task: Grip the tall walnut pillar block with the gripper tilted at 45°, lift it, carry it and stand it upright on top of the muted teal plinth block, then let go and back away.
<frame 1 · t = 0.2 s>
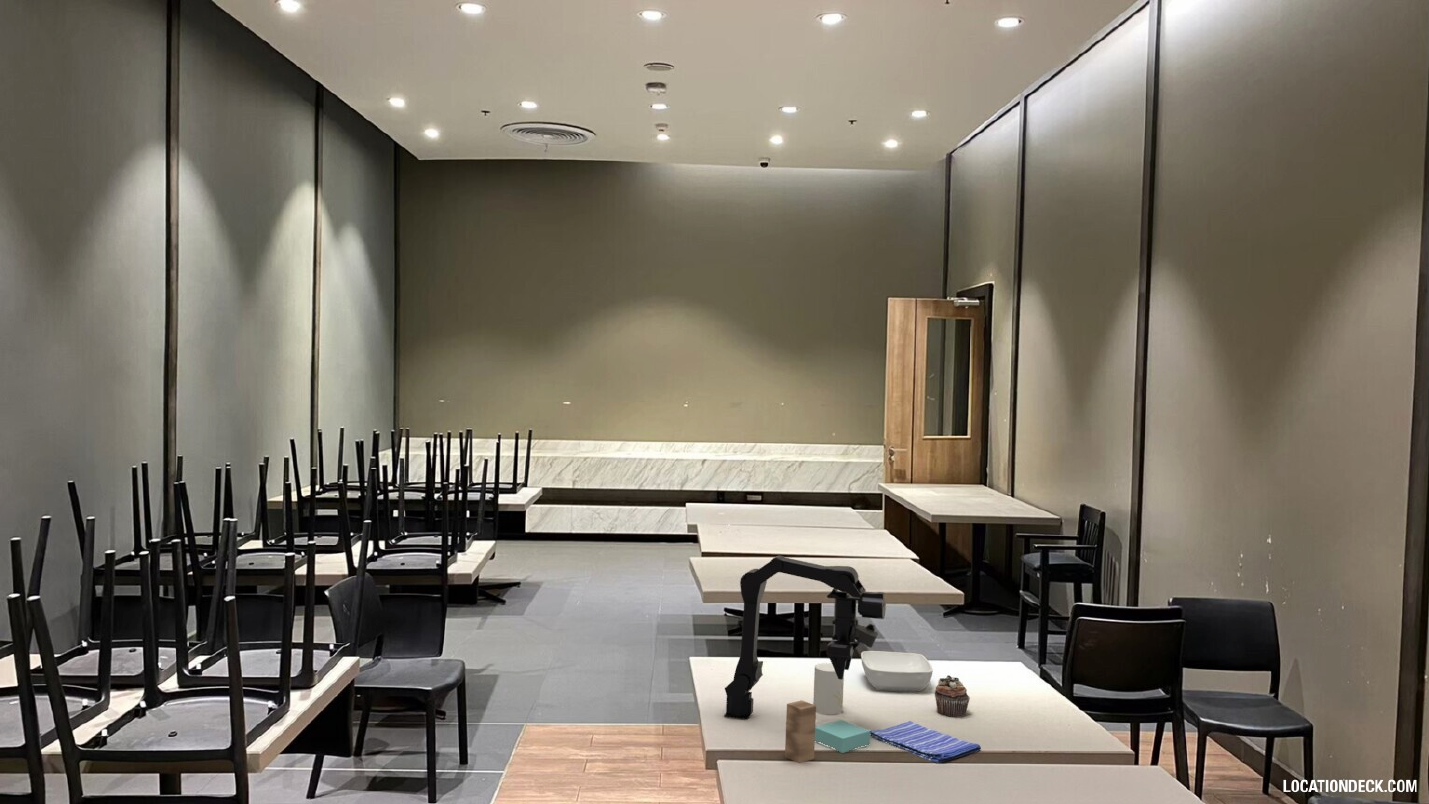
hand: (843, 674, 277), 15 cm above the table, tool pointing down, fingers open, 9 cm apart
cupcake: (951, 713, 295), on the table
teal plinth: (841, 744, 267), on the table
cup: (827, 710, 293), on the table
dish towel: (924, 746, 269), on the table
square bowl: (895, 685, 320), on the table
walnut pillar: (799, 757, 256), on the table
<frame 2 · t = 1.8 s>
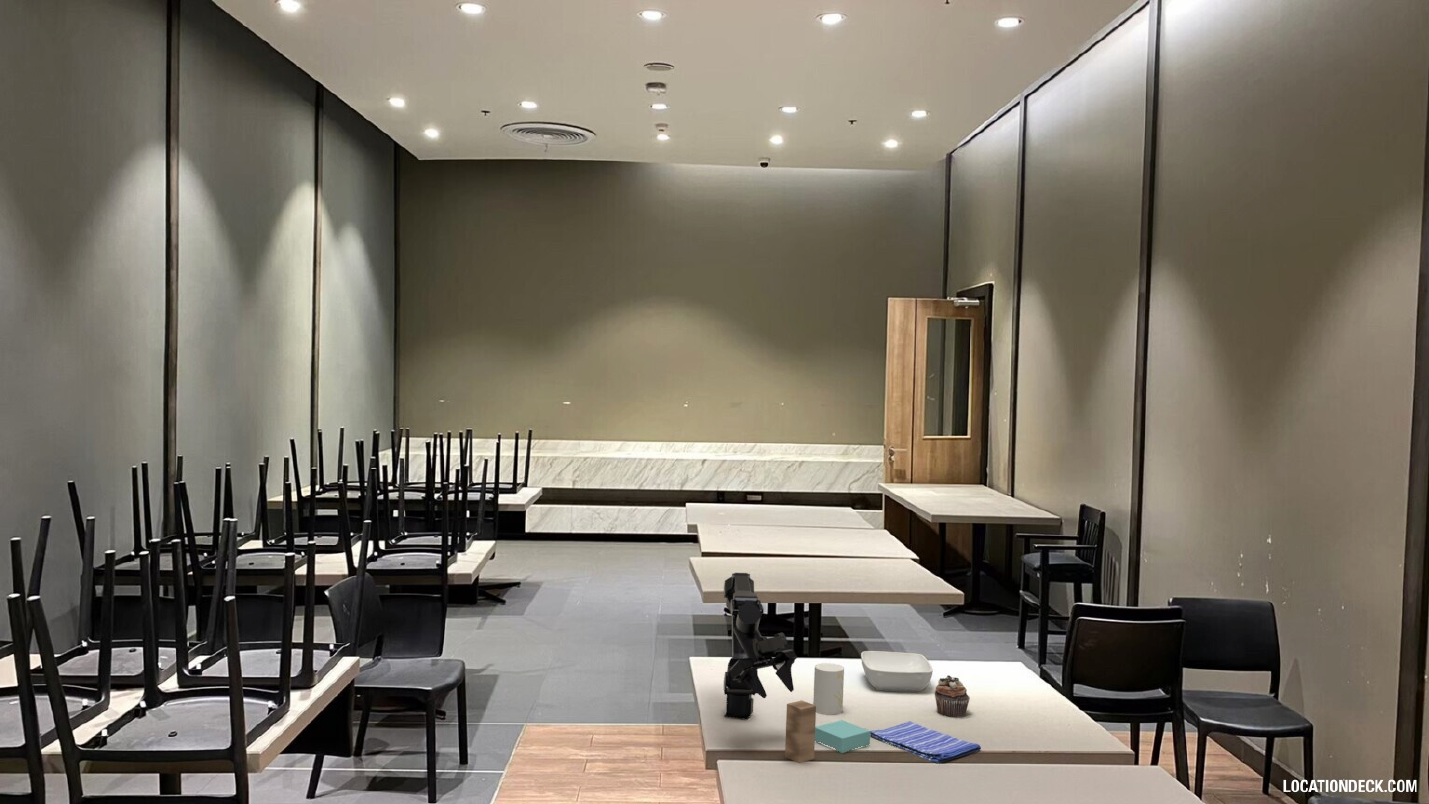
hand: (779, 693, 262), 13 cm above the table, tool tilted 45°, fingers open, 9 cm apart
nothing on the table moved.
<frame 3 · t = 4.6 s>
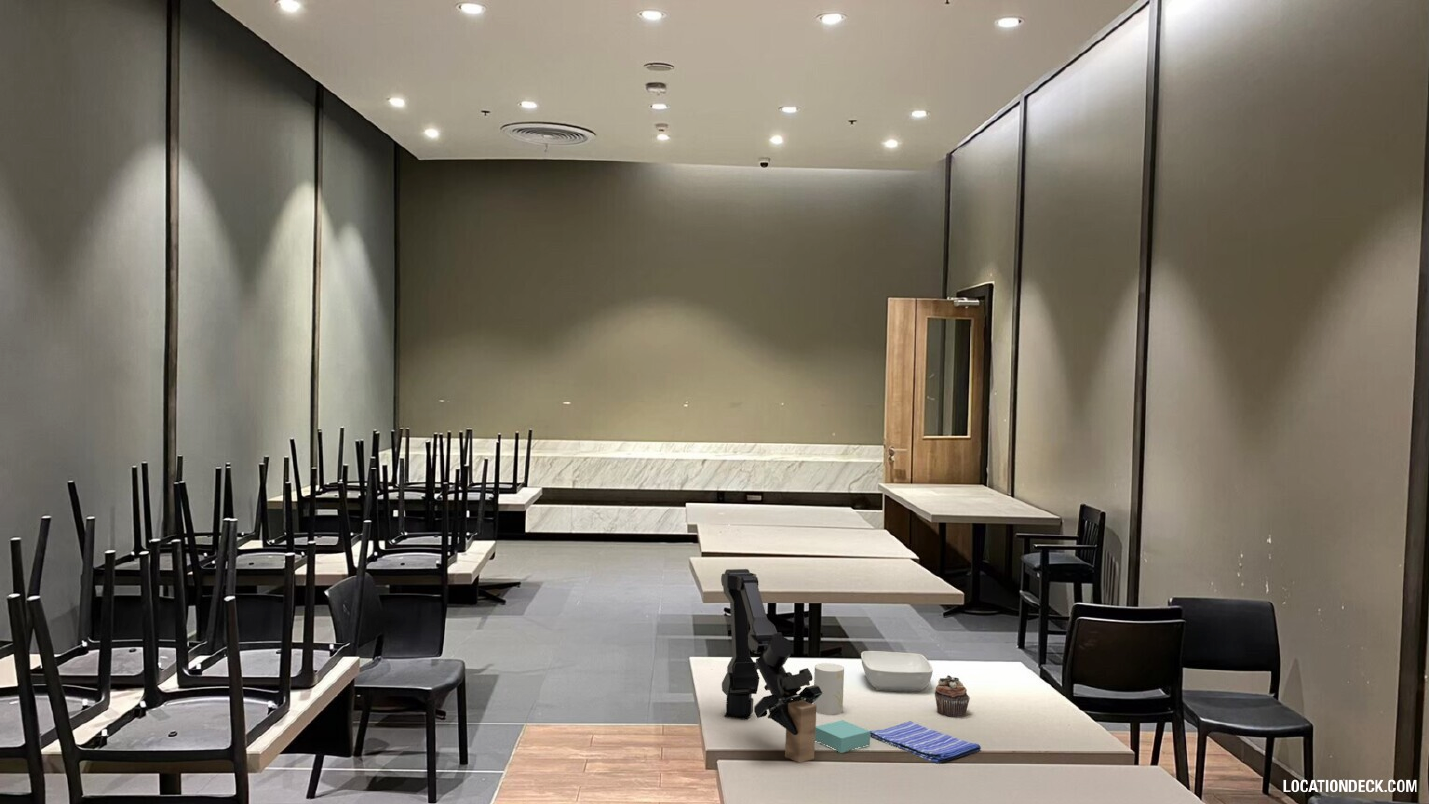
hand: (804, 732, 255), 7 cm above the table, tool tilted 45°, fingers closed on walnut pillar, 5 cm apart
walnut pillar: (799, 757, 256), on the table, touching gripper
everything else where it was.
when the fingers open (12 cm above the table, at t = 8.6 s): walnut pillar drops 2 cm, resting on teal plinth.
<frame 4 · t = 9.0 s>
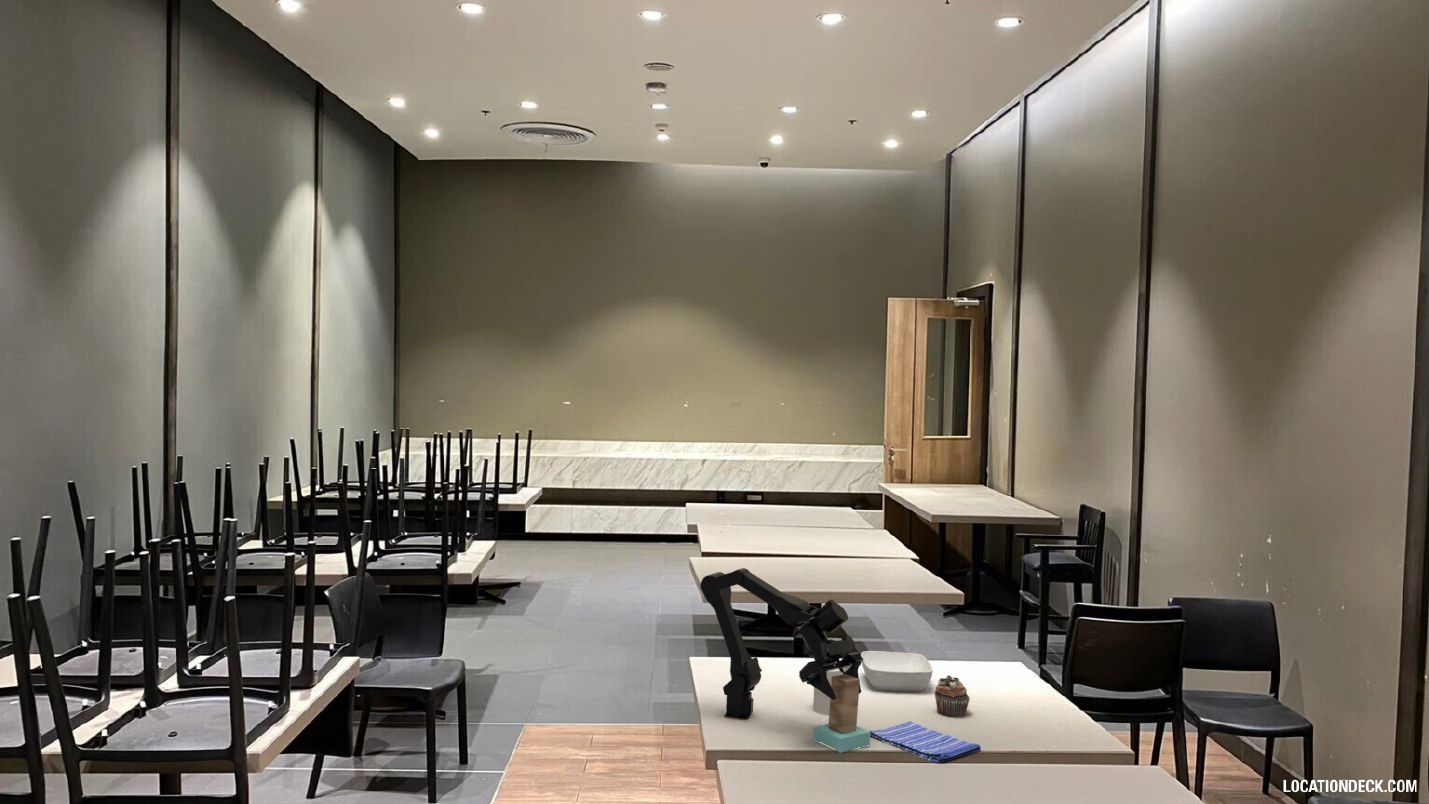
hand: (847, 696, 266), 12 cm above the table, tool tilted 45°, fingers open, 9 cm apart
teal plinth: (841, 744, 267), on the table, touching walnut pillar
walnut pillar: (842, 728, 267), point 4 cm above the table, touching teal plinth
everything else where it was.
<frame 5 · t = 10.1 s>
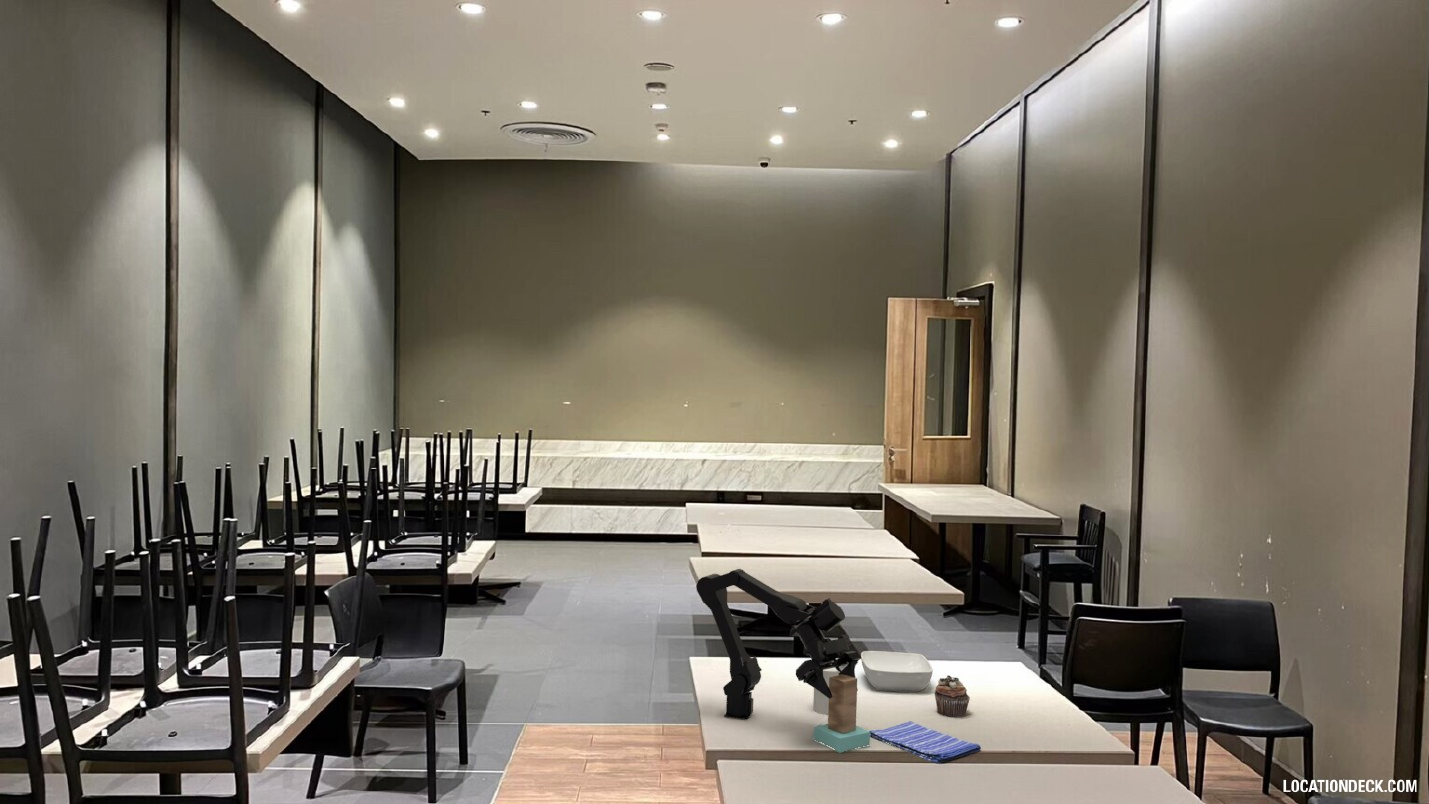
hand: (843, 694, 267), 12 cm above the table, tool tilted 45°, fingers open, 9 cm apart
nothing on the table moved.
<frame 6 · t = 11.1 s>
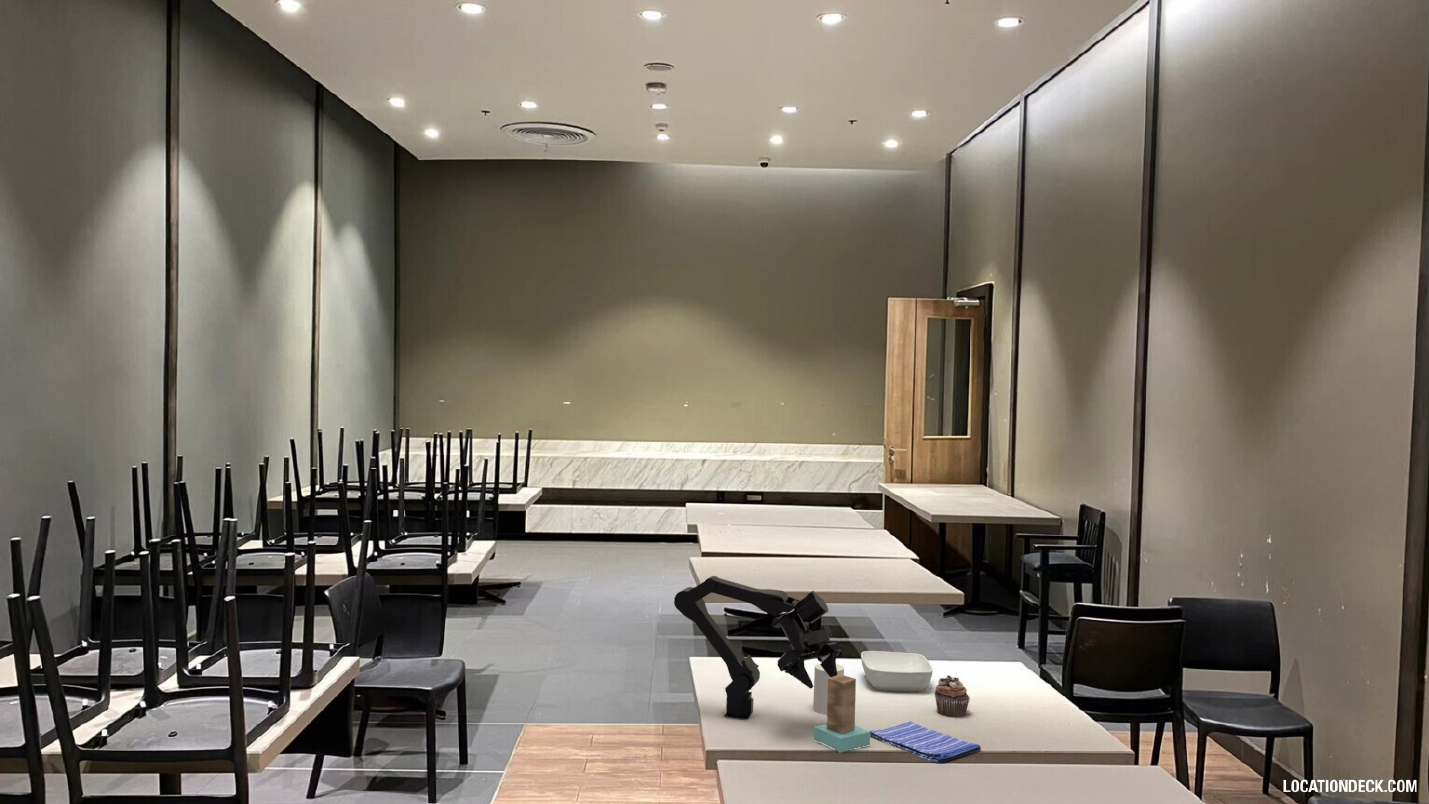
hand: (824, 684, 272), 13 cm above the table, tool tilted 45°, fingers open, 9 cm apart
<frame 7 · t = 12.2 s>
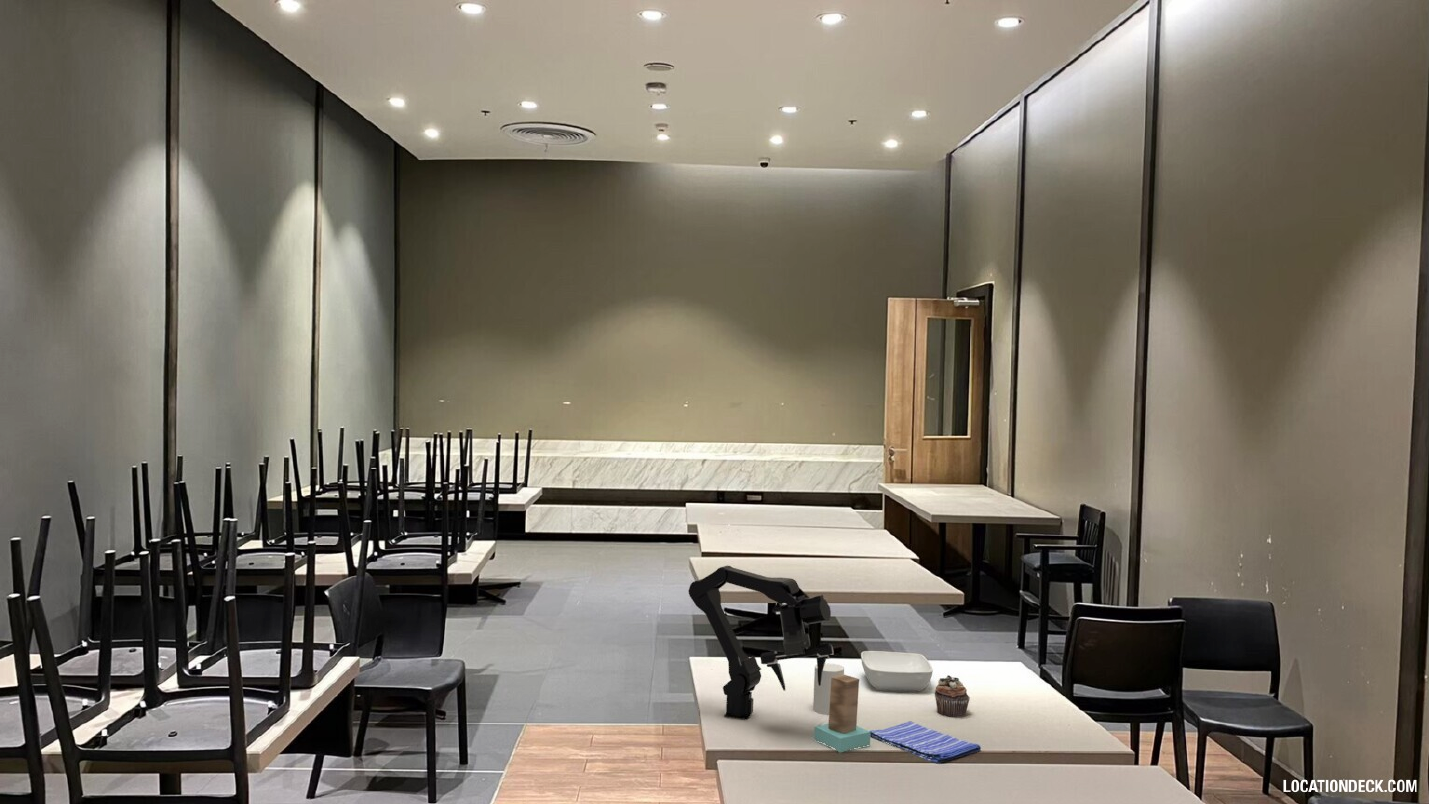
hand: (802, 688, 273), 12 cm above the table, tool tilted 20°, fingers open, 9 cm apart
teal plinth: (841, 744, 267), on the table
walnut pillar: (842, 728, 267), point 4 cm above the table
everything else where it was.
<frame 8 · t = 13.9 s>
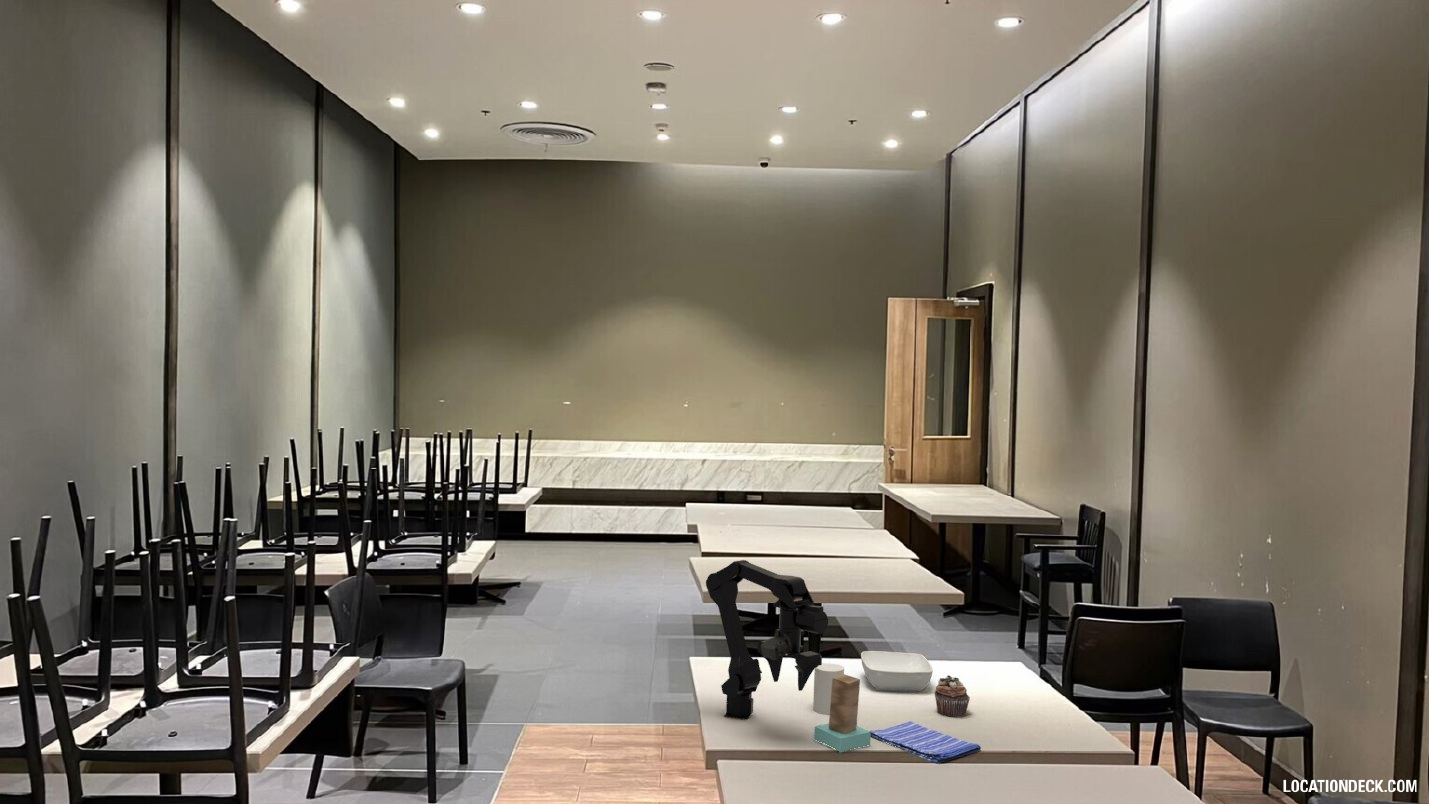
hand: (787, 685, 274), 12 cm above the table, tool pointing down, fingers open, 9 cm apart
nothing on the table moved.
at the end: walnut pillar inside the target area on the teal plinth (0.3 cm from its centre), point 4.2 cm above the teal plinth's base; walnut pillar tilted 2°; the gripper is holding nothing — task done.
